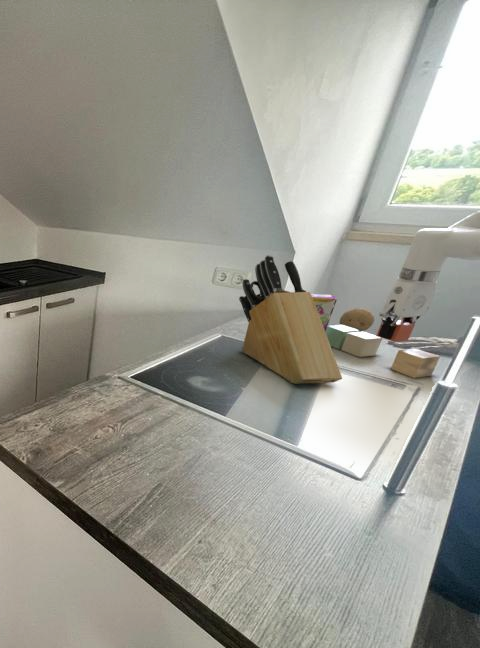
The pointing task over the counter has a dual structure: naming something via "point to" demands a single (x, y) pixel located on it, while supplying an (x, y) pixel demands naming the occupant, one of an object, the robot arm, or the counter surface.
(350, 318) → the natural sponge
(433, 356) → the beech block
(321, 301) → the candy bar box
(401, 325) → the terracotta block
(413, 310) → the robot arm
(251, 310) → the knife block
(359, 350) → the cream block
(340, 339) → the sage block
